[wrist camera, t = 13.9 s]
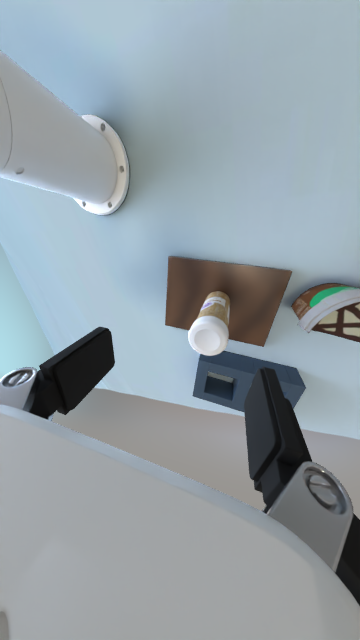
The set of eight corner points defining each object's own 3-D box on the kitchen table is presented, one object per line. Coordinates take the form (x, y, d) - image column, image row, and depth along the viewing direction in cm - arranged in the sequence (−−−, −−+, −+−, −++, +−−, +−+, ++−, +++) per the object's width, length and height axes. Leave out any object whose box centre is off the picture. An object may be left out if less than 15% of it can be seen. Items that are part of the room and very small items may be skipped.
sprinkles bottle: (217, 285, 29) (206, 313, 17) (236, 303, 29) (237, 343, 17) (200, 302, 31) (179, 338, 19) (217, 319, 31) (207, 363, 20)
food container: (394, 284, 23) (493, 310, 14) (365, 323, 26) (433, 363, 17) (298, 267, 25) (332, 280, 16) (281, 304, 28) (303, 331, 19)
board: (167, 322, 36) (165, 325, 35) (170, 255, 30) (168, 256, 29) (262, 343, 32) (263, 346, 31) (290, 270, 26) (292, 271, 25)
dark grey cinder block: (197, 380, 41) (192, 396, 36) (203, 345, 36) (198, 359, 32) (277, 403, 37) (283, 424, 32) (296, 368, 32) (306, 387, 28)
